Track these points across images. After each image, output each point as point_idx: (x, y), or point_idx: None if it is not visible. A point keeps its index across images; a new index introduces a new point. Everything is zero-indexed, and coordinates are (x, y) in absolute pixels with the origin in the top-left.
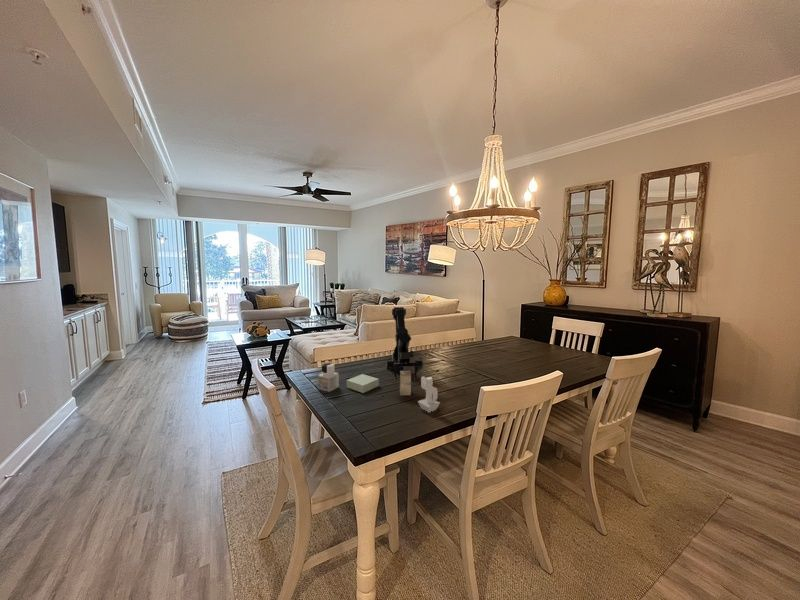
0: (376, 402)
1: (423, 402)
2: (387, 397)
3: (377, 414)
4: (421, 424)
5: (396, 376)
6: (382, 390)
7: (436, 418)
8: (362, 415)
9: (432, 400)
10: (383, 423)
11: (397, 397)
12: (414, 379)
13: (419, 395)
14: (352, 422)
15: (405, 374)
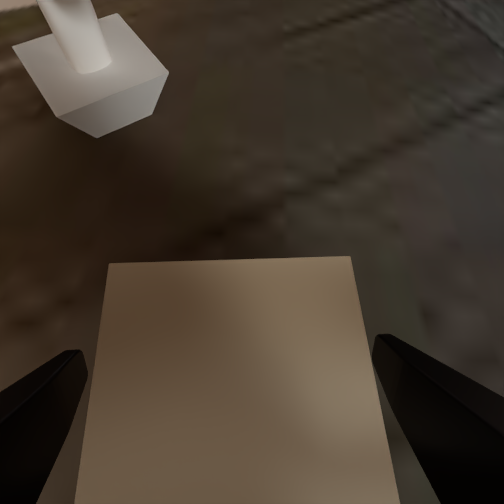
0: (446, 212)
1: (131, 56)
2: (387, 290)
3: (399, 87)
4: (189, 7)
5: (418, 364)
6: None
7: None
8: (470, 85)
9: (53, 74)
10: (354, 26)
11: None
12: (78, 350)
13: None
14: (488, 43)
15: (246, 263)
